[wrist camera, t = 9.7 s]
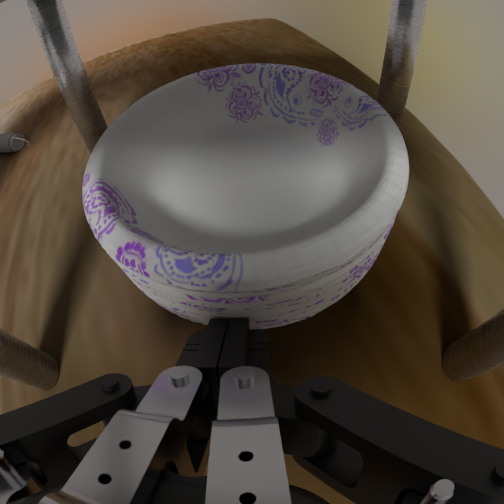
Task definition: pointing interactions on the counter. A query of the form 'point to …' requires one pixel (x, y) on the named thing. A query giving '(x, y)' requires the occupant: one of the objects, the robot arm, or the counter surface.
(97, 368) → the counter surface
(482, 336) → the small side table
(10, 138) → the kitchen whisk
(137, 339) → the counter surface
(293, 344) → the counter surface
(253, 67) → the paper bowls
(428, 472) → the robot arm
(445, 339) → the counter surface
